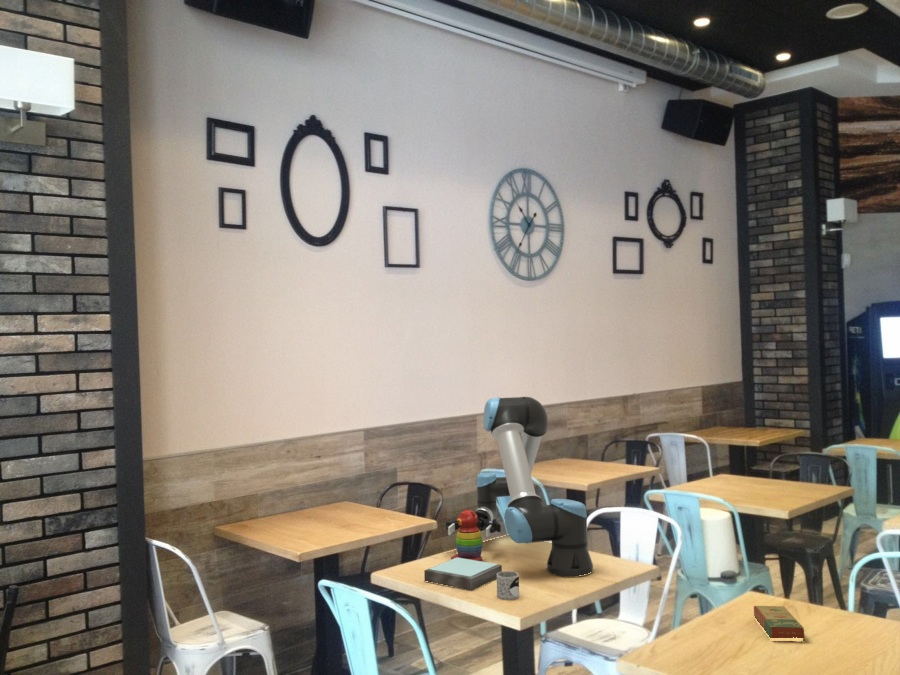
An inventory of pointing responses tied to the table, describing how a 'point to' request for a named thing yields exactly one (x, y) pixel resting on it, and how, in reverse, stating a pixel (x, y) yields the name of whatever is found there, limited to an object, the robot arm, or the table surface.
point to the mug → (507, 585)
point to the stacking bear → (468, 537)
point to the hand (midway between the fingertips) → (467, 532)
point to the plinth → (463, 573)
